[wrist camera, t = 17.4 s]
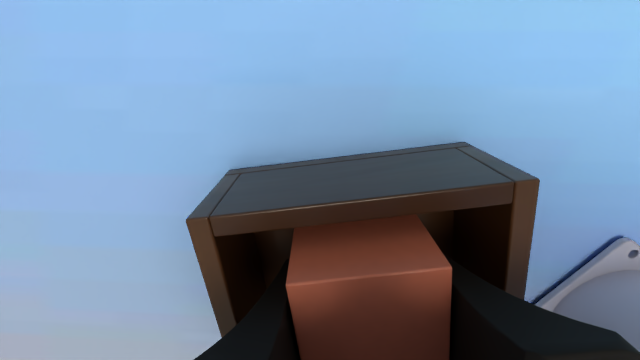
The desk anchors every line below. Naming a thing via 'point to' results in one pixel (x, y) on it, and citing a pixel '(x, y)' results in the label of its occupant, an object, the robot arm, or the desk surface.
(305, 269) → the note cube
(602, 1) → the desk surface
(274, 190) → the box
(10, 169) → the desk surface
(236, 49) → the desk surface
